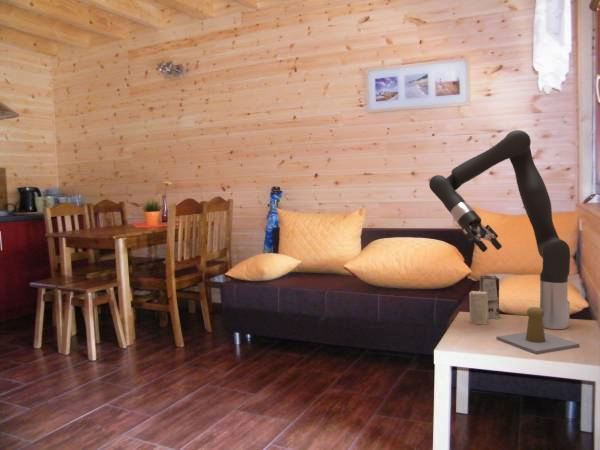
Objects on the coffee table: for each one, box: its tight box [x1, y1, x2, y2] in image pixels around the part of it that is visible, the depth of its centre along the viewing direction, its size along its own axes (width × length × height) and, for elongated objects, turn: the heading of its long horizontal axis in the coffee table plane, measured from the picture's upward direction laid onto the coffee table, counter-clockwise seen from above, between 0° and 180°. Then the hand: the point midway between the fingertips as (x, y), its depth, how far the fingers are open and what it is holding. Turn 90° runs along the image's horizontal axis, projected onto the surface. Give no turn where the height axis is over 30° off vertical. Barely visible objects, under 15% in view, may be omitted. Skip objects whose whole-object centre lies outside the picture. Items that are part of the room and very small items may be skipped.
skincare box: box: [468, 290, 489, 326], centre depth 201 cm, size 6×4×12 cm
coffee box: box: [479, 275, 500, 320], centre depth 211 cm, size 9×6×16 cm
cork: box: [526, 306, 545, 343], centre depth 174 cm, size 6×6×11 cm
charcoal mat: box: [495, 331, 580, 355], centre depth 174 cm, size 18×18×1 cm
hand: (492, 249), depth 185 cm, fingers open, 8 cm apart
